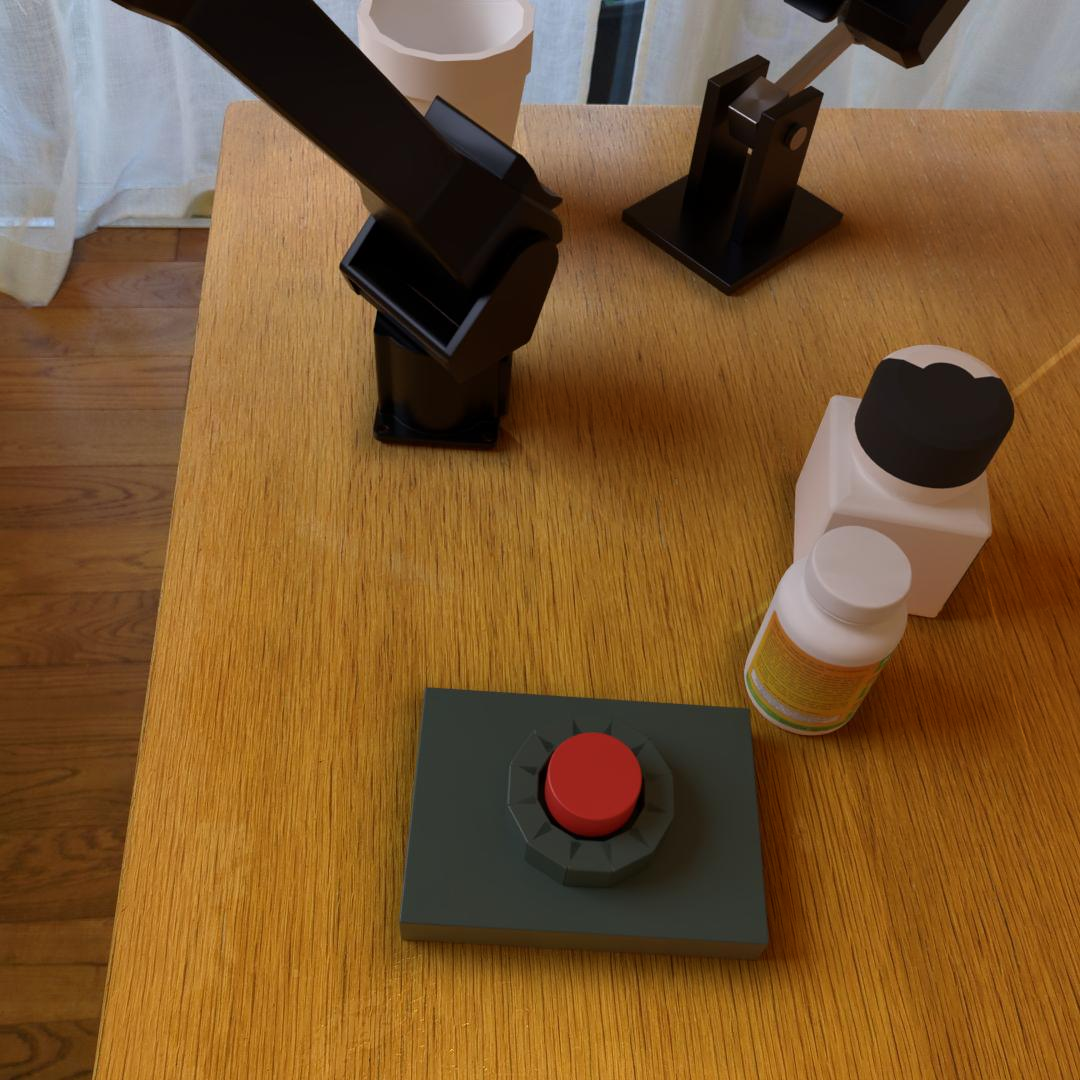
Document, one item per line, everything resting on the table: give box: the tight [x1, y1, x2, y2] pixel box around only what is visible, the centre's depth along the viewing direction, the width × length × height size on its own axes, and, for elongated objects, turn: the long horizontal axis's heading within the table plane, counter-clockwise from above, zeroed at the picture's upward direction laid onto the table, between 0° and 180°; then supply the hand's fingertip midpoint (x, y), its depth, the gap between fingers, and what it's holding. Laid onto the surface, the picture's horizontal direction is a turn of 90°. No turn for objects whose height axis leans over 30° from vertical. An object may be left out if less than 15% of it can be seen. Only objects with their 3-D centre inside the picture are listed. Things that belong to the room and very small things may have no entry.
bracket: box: [621, 53, 844, 297], centre depth 67 cm, size 11×9×10 cm
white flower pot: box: [356, 0, 536, 148], centre depth 64 cm, size 10×9×13 cm
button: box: [545, 733, 642, 837], centre depth 43 cm, size 4×4×2 cm
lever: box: [728, 1, 864, 150], centre depth 65 cm, size 12×3×3 cm, turn 133°
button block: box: [398, 686, 770, 961], centre depth 45 cm, size 14×10×4 cm
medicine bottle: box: [793, 344, 1015, 618], centre depth 51 cm, size 7×7×12 cm
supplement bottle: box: [743, 526, 913, 736], centre depth 47 cm, size 5×5×10 cm
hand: (840, 4), depth 63 cm, fingers closed
